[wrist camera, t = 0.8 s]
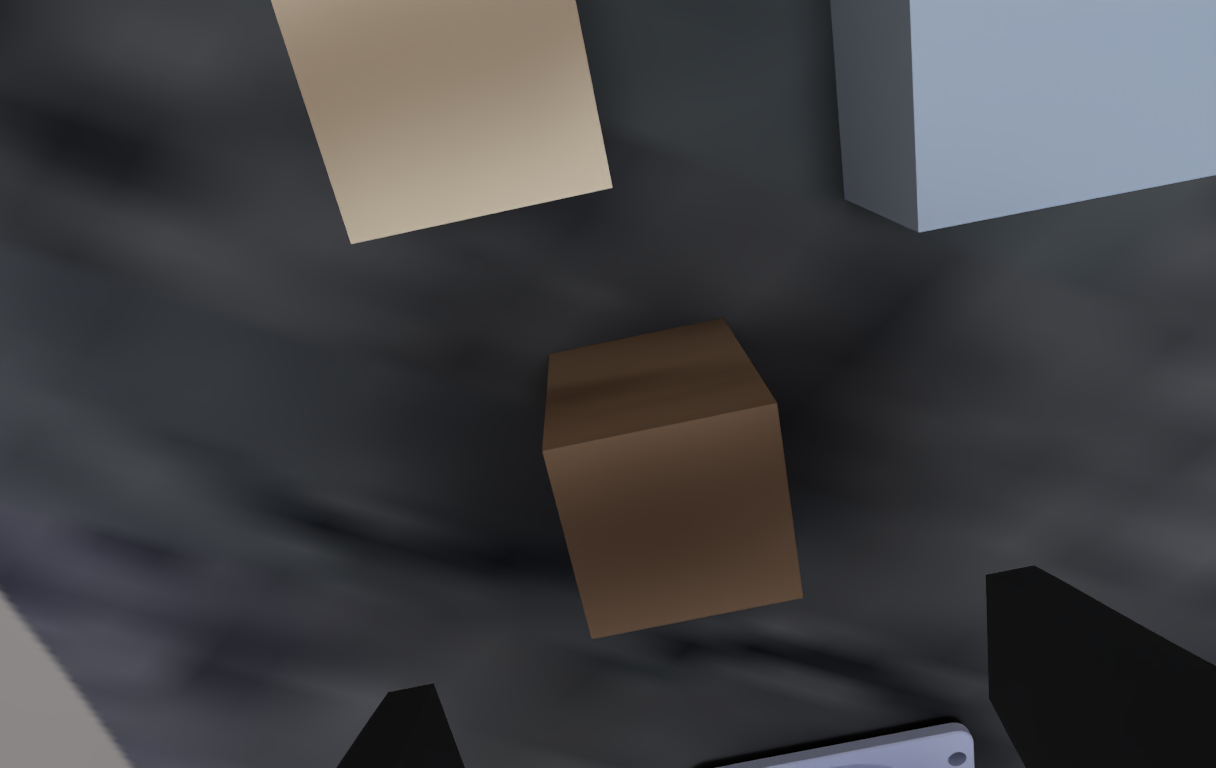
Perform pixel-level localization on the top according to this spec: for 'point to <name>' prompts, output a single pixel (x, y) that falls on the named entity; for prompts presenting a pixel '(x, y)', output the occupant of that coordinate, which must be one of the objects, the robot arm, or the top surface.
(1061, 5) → the base block
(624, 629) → the walnut block
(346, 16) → the maple block
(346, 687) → the top surface
